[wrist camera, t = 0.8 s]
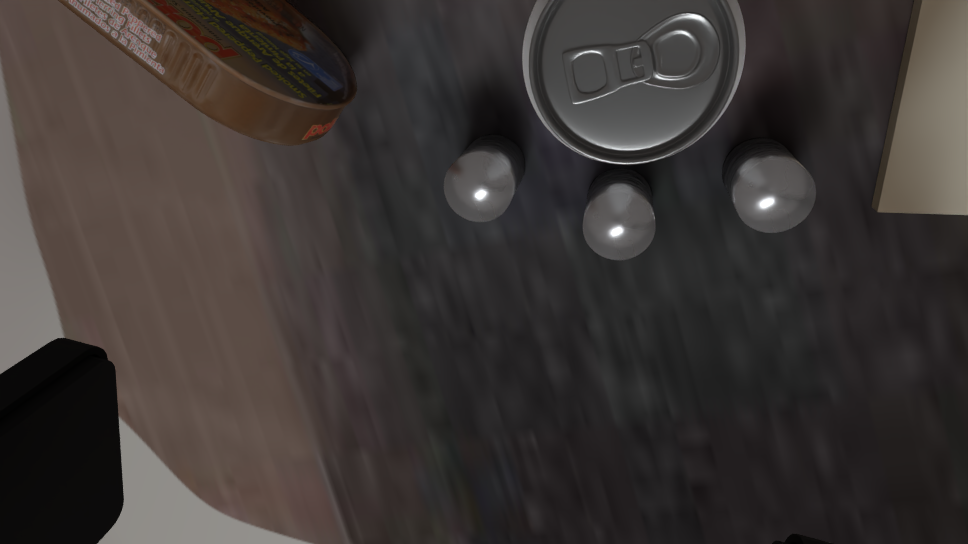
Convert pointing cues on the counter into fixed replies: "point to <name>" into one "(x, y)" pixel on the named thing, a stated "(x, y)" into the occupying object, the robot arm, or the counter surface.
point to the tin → (234, 61)
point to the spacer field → (635, 192)
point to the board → (929, 116)
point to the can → (632, 73)
